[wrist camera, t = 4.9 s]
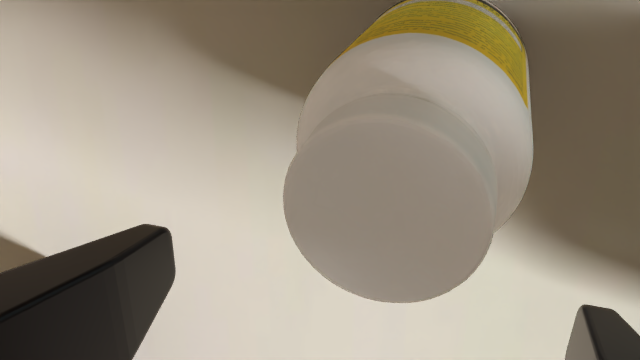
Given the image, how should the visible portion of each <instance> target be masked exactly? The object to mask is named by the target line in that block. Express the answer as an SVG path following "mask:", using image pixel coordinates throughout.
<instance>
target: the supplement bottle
mask: <svg viewBox="0 0 640 360" xmlns="http://www.w3.org/2000/svg"><path fill="white" fill-rule="evenodd" d="M532 163H533V132H532V118H531V101H530V82H529V66H528V58H527V53H526V50H525V46H524V43H523V41H522V39H521V36H520V34H519V32H518V31H517V29H516V27H515V26H514V25H513V23H512V22H511V21H510V19H509V18H508V17H507V16H506V15H505V14H504V13H503V12H502V11H501V10H500V9H499V8H497V7H496V6H495V5H493V4H492V3H490V2H488V1H487V0H403V1H401V2H399V3H398V4H396V5H394V6H393V7H391V8H390V9H388V10H387V11H386V12H385V13H383V14H382V15H381V16H380V17H379V18H378V19H377V20H376V21H375V22H374V23H373V24H372V25H371V26H370V27H369V28H368V29H367V30H366V31H365V32H364V33H362V34H361V35H360V36H359V37H358V38H357V39H356V40H355V41H354V42H353V43H352V44H351V45H350V46H349V47H348V48H347V49H346V50H345V51H344V52H343V53H342V54H340V55H339V56H338V57H337V58H336V59H335V60H334V61H333V62H332V63H331V64H330V65H329V66H328V68H327V69H326V70H325V71H324V72H323V74H322V75H321V76H320V78H319V79H318V80H317V82H316V83H315V85H314V86H313V88H312V89H311V91H310V93H309V95H308V97H307V99H306V101H305V103H304V106H303V109H302V112H301V115H300V118H299V123H298V130H297V153H296V155H295V157H294V158H293V160H292V162H291V164H290V166H289V169H288V172H287V175H286V178H285V184H284V193H283V202H284V213H285V218H286V222H287V225H288V228H289V231H290V234H291V236H292V238H293V240H294V242H295V244H296V245H297V247H298V249H299V250H300V252H301V253H302V255H303V256H304V257H305V258H306V259H307V260H308V262H309V263H310V264H311V265H312V266H313V267H314V268H315V269H316V270H317V271H318V272H319V273H320V274H321V275H323V276H324V277H325V278H326V279H328V280H329V281H331V282H332V283H333V284H335V285H337V286H339V287H340V288H342V289H344V290H346V291H348V292H351V293H353V294H356V295H358V296H361V297H364V298H367V299H372V300H376V301H381V302H391V303H410V302H419V301H424V300H428V299H432V298H435V297H437V296H440V295H442V294H445V293H447V292H449V291H450V290H452V289H454V288H455V287H457V286H459V285H460V284H461V283H463V282H464V281H465V280H467V279H468V278H469V277H470V276H471V275H472V274H473V273H474V271H475V270H476V269H477V268H478V266H479V265H480V264H481V262H482V261H483V259H484V257H485V255H486V254H487V251H488V249H489V246H490V244H491V241H492V238H493V233H494V232H496V231H497V230H498V229H499V228H500V227H501V226H502V225H503V224H504V223H505V222H506V221H507V220H508V219H509V218H510V216H511V215H512V214H513V212H514V211H515V210H516V208H517V207H518V205H519V203H520V202H521V200H522V198H523V195H524V193H525V191H526V188H527V185H528V182H529V178H530V174H531V171H532Z"/></svg>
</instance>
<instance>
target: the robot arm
mask: <svg viewBox="0 0 640 360" xmlns="http://www.w3.org/2000/svg"><path fill="white" fill-rule="evenodd" d="M174 278H175V261H174V252H173V243H172V236H171V233H170V231H169V230H168V229H167V228H166V227H161V226H156V225H150V224H142V225H139V226H136V227H133V228H130V229H127V230H124V231H121V232H119V233H116V234H113V235H110V236H107V237H104V238H101V239H98V240H95V241H92V242H89V243H87V244H84V245H81V246H78V247H75V248H72V249H69V250H66V251H63V252H60V253H57V254H54V255H52V256H49V257H46V258H43V259H40V260H37V261H34V262H31V263H28V264H25V265H22V266H20V267H17V268H14V269H11V270H8V271H5V272H2V273H0V360H132V359H133V357H134V355H135V354H136V352H137V350H138V348H139V347H140V345H141V343H142V341H143V339H144V337H145V335H146V333H147V332H148V330H149V328H150V326H151V324H152V322H153V320H154V318H155V317H156V315H157V313H158V311H159V309H160V307H161V305H162V303H163V302H164V300H165V298H166V296H167V294H168V292H169V290H170V288H171V287H172V284H173V282H174ZM565 360H640V336H639V335H638V334H637V333H636V331H635V330H634V329H633V328H632V327H631V326H630V325H629V324H628V323H627V322H626V321H625V320H624V319H623V318H622V317H621V316H620V315H619V314H618V313H617V312H615V311H614V310H612V309H608V308H603V307H597V306H592V305H582V306H581V307H580V308H579V309H578V311H577V315H576V318H575V322H574V325H573V329H572V332H571V336H570V340H569V343H568V347H567V351H566V356H565Z"/></svg>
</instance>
